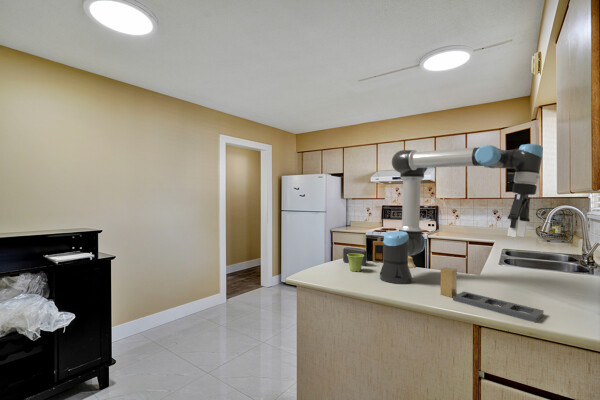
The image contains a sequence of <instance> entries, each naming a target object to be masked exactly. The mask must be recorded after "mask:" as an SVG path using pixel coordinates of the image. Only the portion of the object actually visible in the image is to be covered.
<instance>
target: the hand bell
mask: <svg viewBox="0 0 600 400" xmlns="http://www.w3.org/2000/svg"><path fill="white" fill-rule="evenodd" d="M408 266H409V269H412V268H411V267H414V268H416V265H415V264H414V259H413V257H412V255H410V256H408Z"/></svg>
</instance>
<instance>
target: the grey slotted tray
mask: <svg viewBox="0 0 600 400" xmlns="http://www.w3.org/2000/svg"><path fill="white" fill-rule="evenodd" d="M452 301H455V302H458V303H462V304H466V305H469V306H472V307H478V308H481V309H484V310H487V311H488V310H489V311H491V312H494V313H499V314H503V315H507V316H509V317H514V318H517V319H521V320H525V321H528V322H533V323H537V322H538V321H539V320H541V318H542V317H543V316H544V310H543V309H539V308H535V307H530V306H526V305H521V304H519V303H514V302H509V301H506V300H503V299H496V298H493V297H489V296H485V295H480V294H476V293H471V292H468V291H461V292H460V293H457V295H455V296H453V297H452ZM488 303H489V304H488ZM498 305H499V306H498Z"/></svg>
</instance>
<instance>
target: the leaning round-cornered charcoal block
mask: <svg viewBox="0 0 600 400" xmlns="http://www.w3.org/2000/svg"><path fill="white" fill-rule="evenodd" d="M352 253H355V254H362V255H364V257H363V260H362V266H361V267H365V266H367V251H366V250H365V249H362V248H356V247H344V248H343V250H342V261H343V263H346V264H349V259H348V256H347V254H352Z"/></svg>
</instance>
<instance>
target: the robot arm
mask: <svg viewBox="0 0 600 400" xmlns="http://www.w3.org/2000/svg"><path fill="white" fill-rule="evenodd" d="M543 150H544V147H543V146H542V145H540V144H535V143H527V144H521V145H520V146H519V148H518V149H515V150H514V149H513V150H510V149H509V150H507V149H501V148H499V147H497V146H495V145H488V144H487V145H481V146H480V147H465V148H453V149H452V148H451V149H437V150H425V151H424V150H423V151H417V150H416V149H409V150H408V149H401V150H399V151H396V152H395V153H394V155H393V156H392V159H391V166H392V168H393V169H394V170H395V172H396V173H397V172H398V173H400V176H399V177H400V179H401V180H402V209H401V212H402V213H401V226H400V227H399V228H398V230H393V231H389V232H385V234H384V235H383V240H382V241H383V242H384V263H383V262H382V263H383V264H382V267H381V270H380V272H379V279H380V280H381V281H383V282H385V283H386V282H387V283H391V284H399V285H400V284H402V285H403V284H411V283H412V282H413V276H412V273H411V271H410V269H411V268H409V266H408V256H415V255H418V254H421V252H423V251H424V250H425V248H426V238H425V236H424V235H423V229H422V228H421V227H420V219H421V218H420V214H421V213H420V212H421V210H420V209H421V184H422V183H421V182H422V181H423V179H424V178H425V173H426V171H427V170H428V168H448V167H449V168H452V167H453V168H456V167H484V168H486V169H488V168H489V169H511V170H515V172H514V176H513V182H514V183H513V184H512V190H511V191H512V193H514V198H513V202H512V205H511V207H510V210H509V214H508V215H507V219H508V220H509V223H508V228H507V234H506V236H507V237H512V238H517V237H522V238H525V236H526V229H527V225H528V223H529V222H530V221H531V219H530V203H531V197H529V196H530V195H531V196H533V195H536V193H537V188H538V186H537V184H538V180H539V179H541V176H539V174H540V170H541V164H542V161H543Z"/></svg>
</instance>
